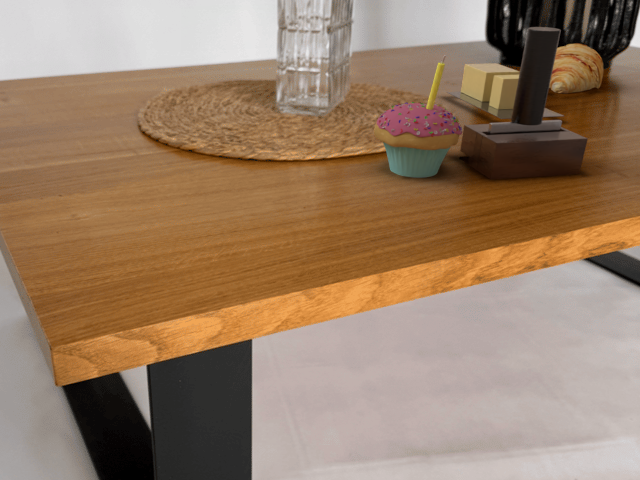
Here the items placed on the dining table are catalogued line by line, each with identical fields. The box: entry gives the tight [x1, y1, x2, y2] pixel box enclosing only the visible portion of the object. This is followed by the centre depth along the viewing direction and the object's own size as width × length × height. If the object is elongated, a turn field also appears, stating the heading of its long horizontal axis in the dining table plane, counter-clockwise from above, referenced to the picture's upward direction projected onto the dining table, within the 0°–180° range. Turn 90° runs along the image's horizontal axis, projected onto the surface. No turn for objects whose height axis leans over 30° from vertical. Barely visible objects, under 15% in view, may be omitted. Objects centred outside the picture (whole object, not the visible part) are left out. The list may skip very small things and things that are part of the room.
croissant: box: [549, 42, 605, 94], centre depth 109 cm, size 21×10×8 cm, turn 154°
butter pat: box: [489, 75, 519, 110], centre depth 92 cm, size 2×5×4 cm, turn 101°
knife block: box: [458, 123, 589, 180], centre depth 72 cm, size 10×7×4 cm
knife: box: [488, 26, 563, 135], centre depth 70 cm, size 8×3×14 cm, turn 101°
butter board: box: [446, 62, 565, 120], centre depth 94 cm, size 16×9×5 cm, turn 11°
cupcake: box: [373, 54, 463, 179], centre depth 69 cm, size 9×8×12 cm
